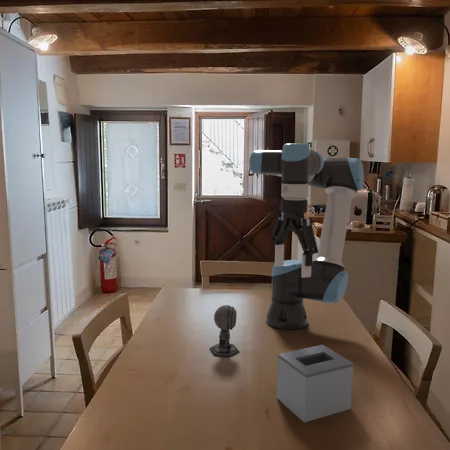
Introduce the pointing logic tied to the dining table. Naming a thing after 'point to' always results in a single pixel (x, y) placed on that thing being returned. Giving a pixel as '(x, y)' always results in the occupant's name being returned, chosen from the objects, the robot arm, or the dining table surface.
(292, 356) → the coin box
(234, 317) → the figurine
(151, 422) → the dining table surface
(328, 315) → the dining table surface
